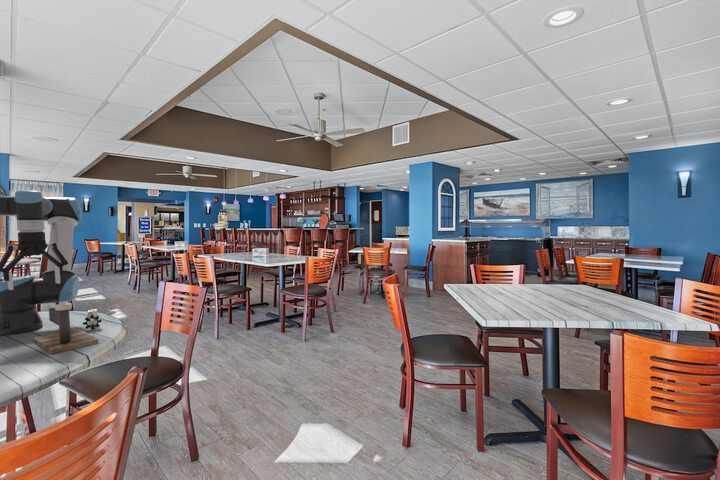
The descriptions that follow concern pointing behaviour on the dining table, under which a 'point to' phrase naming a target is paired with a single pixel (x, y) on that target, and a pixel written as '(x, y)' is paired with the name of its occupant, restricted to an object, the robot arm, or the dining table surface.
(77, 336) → the board
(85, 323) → the valve
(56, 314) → the dark piece
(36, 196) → the robot arm
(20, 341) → the dining table surface
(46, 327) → the dining table surface
